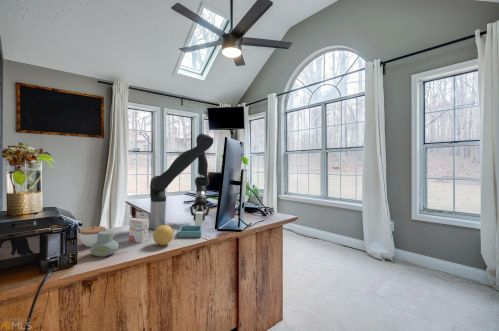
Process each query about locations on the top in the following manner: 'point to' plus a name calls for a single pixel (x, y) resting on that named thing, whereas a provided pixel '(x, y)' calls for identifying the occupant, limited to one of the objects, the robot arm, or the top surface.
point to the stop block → (199, 219)
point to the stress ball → (163, 235)
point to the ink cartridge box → (139, 228)
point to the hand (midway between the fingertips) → (199, 220)
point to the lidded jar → (90, 235)
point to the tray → (189, 231)
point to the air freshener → (104, 244)
